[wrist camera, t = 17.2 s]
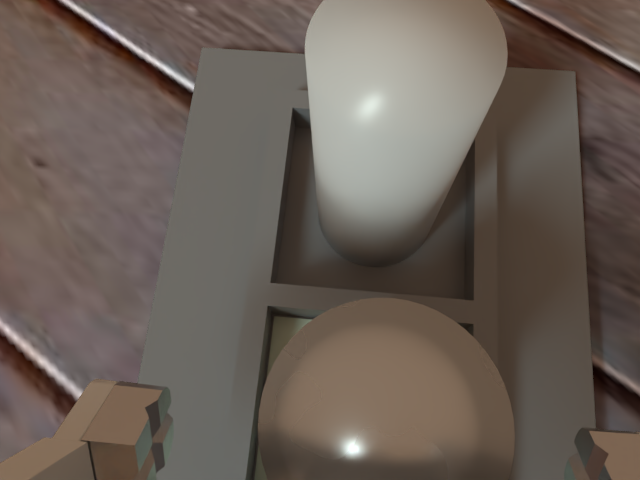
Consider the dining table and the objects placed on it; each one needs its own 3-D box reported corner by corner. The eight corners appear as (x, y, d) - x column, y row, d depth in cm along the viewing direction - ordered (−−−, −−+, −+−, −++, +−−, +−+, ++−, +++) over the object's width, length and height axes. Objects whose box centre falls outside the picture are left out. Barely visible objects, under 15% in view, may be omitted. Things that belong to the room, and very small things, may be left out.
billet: (427, 364, 20) (512, 308, 10) (423, 500, 18) (517, 582, 9) (303, 353, 20) (273, 287, 10) (290, 486, 18) (241, 552, 9)
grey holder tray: (565, 84, 24) (739, -170, 14) (596, 684, 17) (986, 1073, 7) (207, 61, 25) (116, -196, 15) (101, 623, 18) (-210, 888, 8)
